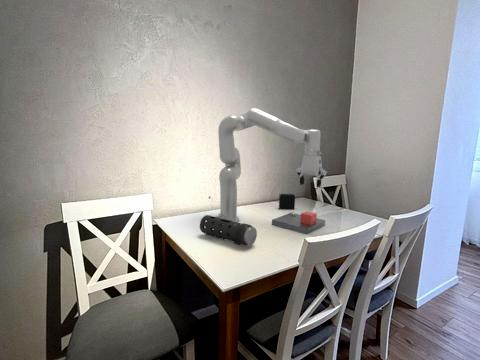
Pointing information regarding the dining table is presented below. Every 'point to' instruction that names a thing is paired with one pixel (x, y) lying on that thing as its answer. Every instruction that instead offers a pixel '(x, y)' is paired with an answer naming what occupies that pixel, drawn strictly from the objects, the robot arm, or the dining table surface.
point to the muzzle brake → (228, 230)
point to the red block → (308, 217)
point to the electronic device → (287, 201)
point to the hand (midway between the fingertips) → (310, 185)
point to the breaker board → (297, 223)
